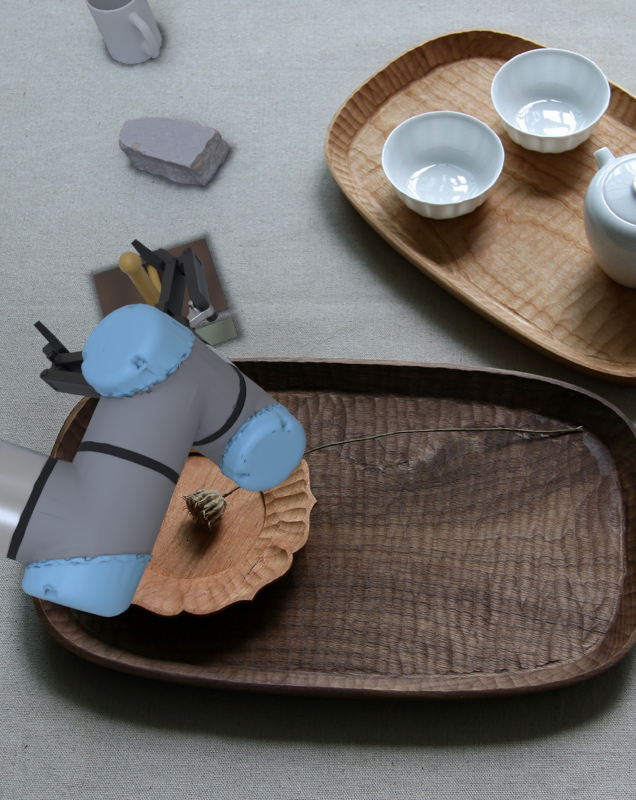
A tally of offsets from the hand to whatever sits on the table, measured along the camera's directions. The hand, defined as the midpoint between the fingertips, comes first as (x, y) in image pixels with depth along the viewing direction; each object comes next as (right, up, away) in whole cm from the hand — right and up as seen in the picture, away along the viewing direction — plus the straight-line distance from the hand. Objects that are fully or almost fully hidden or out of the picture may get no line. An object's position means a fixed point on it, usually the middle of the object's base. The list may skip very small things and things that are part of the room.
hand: (92, 289), depth 89 cm
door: (+2, 0, +21) cm, 21 cm away
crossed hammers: (+2, +1, +19) cm, 19 cm away
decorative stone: (+2, +22, +30) cm, 37 cm away
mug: (-7, +42, +39) cm, 58 cm away
